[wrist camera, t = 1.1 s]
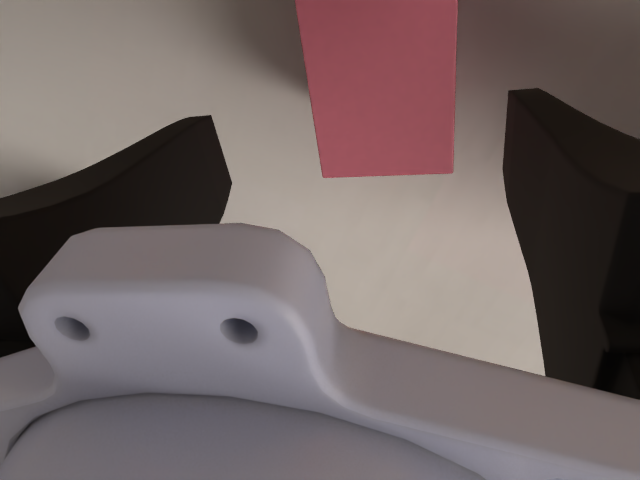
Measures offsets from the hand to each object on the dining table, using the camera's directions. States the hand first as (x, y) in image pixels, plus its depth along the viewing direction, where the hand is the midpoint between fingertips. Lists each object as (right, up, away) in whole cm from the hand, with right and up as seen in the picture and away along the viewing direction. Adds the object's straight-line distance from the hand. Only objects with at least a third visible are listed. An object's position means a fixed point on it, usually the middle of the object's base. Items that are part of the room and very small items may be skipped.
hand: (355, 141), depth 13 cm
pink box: (+2, +6, +7) cm, 10 cm away
